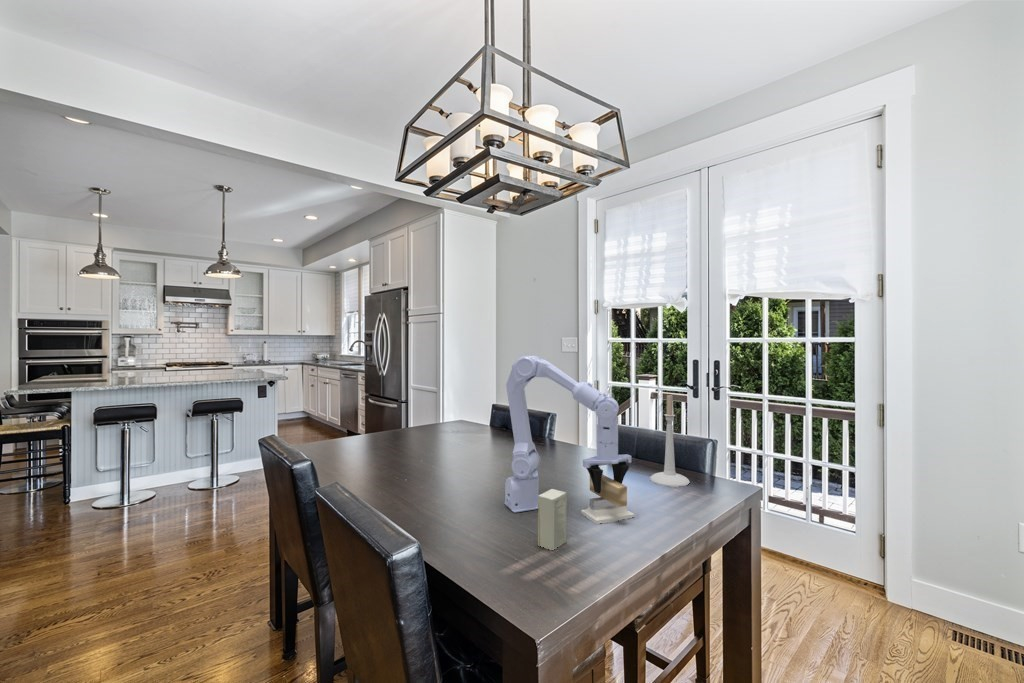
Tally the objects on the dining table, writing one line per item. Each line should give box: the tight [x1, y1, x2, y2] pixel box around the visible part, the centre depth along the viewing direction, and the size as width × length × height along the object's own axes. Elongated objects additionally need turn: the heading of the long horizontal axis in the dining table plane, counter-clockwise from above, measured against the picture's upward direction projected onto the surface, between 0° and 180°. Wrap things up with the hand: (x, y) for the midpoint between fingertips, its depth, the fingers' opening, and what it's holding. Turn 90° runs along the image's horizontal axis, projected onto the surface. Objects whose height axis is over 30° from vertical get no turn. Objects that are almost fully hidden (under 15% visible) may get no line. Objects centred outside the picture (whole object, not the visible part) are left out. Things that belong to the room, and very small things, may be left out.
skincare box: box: [537, 488, 567, 551], centre depth 107 cm, size 6×4×12 cm
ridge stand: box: [580, 496, 635, 525], centre depth 125 cm, size 12×8×5 cm, turn 112°
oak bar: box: [589, 474, 628, 507], centre depth 125 cm, size 3×14×5 cm, turn 22°
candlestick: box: [649, 394, 690, 488], centre depth 155 cm, size 13×13×30 cm
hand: (607, 490), depth 125 cm, fingers open, 6 cm apart
